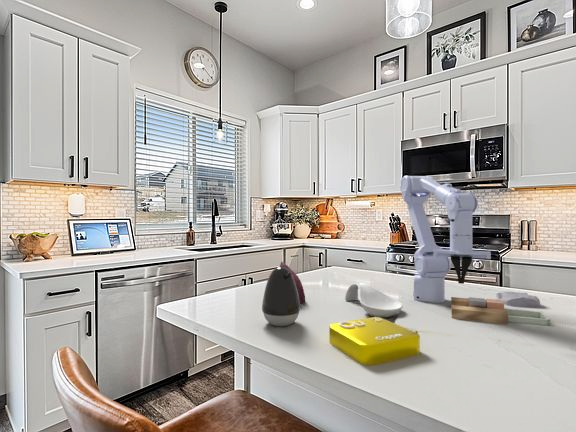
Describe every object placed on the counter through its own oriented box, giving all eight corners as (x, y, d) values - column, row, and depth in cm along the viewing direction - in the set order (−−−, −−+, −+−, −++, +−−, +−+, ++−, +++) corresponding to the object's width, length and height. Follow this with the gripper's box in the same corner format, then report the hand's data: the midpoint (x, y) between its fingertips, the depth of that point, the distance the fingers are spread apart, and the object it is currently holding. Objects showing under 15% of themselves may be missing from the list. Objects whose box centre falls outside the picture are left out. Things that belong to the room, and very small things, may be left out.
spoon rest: (411, 319, 97) (411, 293, 97) (375, 323, 93) (374, 297, 93) (365, 299, 120) (365, 278, 120) (334, 302, 116) (334, 280, 116)
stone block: (508, 316, 105) (544, 311, 103) (504, 300, 105) (541, 295, 104) (493, 307, 117) (526, 302, 115) (490, 292, 117) (522, 288, 115)
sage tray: (507, 324, 91) (507, 315, 91) (503, 316, 99) (503, 308, 99) (549, 329, 87) (549, 320, 87) (542, 320, 95) (542, 311, 95)
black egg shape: (272, 332, 86) (271, 271, 86) (256, 321, 96) (256, 265, 95) (307, 326, 91) (307, 268, 91) (289, 315, 100) (288, 263, 100)
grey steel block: (469, 314, 97) (469, 300, 97) (468, 311, 100) (468, 297, 100) (485, 316, 95) (485, 301, 95) (484, 312, 99) (484, 298, 99)
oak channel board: (451, 321, 94) (451, 308, 94) (451, 308, 107) (451, 297, 107) (507, 327, 89) (508, 314, 89) (500, 313, 101) (500, 301, 101)
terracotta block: (487, 316, 95) (487, 302, 95) (485, 312, 99) (485, 298, 99) (504, 318, 93) (504, 303, 93) (502, 314, 97) (502, 300, 97)
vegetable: (271, 314, 113) (258, 270, 112) (284, 302, 122) (271, 261, 122) (300, 309, 109) (287, 263, 108) (311, 297, 118) (298, 255, 117)
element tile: (365, 369, 67) (365, 344, 67) (326, 342, 81) (325, 322, 81) (424, 355, 73) (424, 332, 73) (378, 333, 87) (378, 313, 87)
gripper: (433, 235, 99) (433, 283, 99) (492, 236, 92) (491, 287, 93) (433, 234, 105) (433, 279, 105) (489, 235, 99) (489, 282, 99)
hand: (461, 282), depth 99 cm, fingers closed
